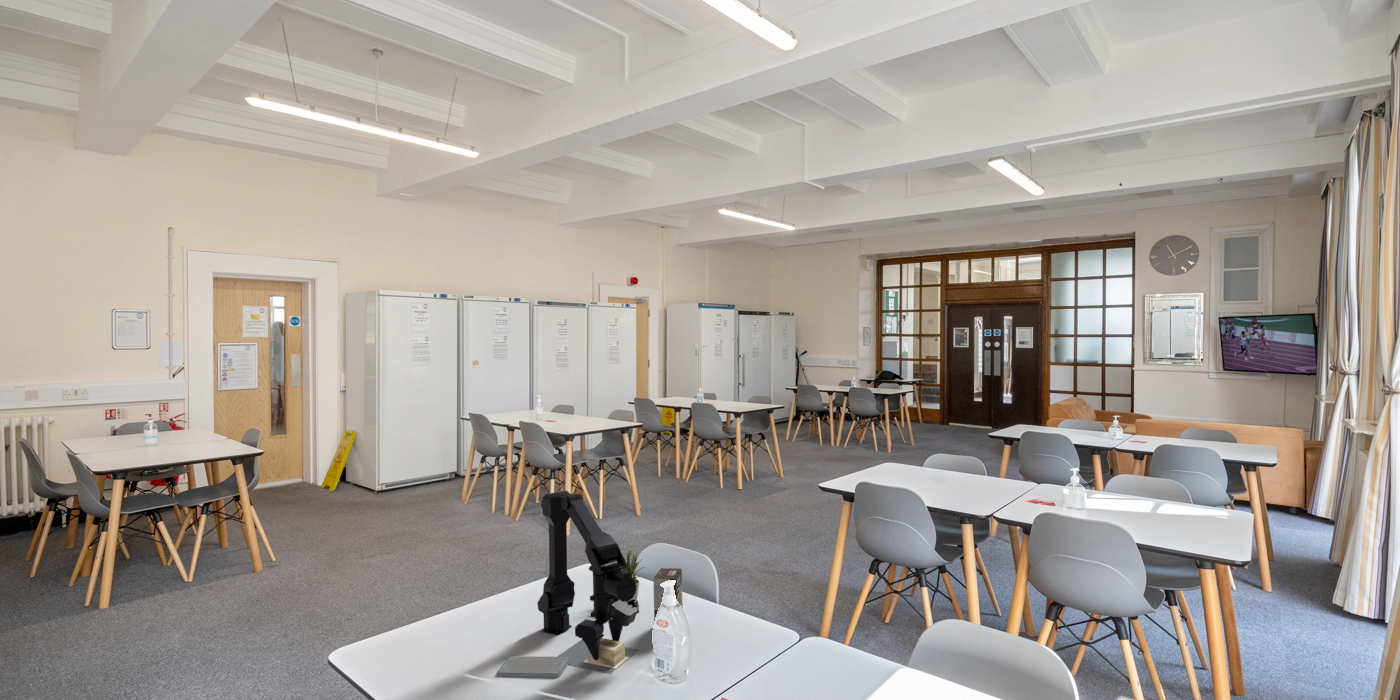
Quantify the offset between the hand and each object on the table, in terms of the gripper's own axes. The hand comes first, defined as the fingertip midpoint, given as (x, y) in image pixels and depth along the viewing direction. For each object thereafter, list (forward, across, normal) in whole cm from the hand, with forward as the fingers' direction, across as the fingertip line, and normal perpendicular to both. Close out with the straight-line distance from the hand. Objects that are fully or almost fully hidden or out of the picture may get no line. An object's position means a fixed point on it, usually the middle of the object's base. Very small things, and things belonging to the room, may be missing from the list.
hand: (606, 652), depth 172 cm
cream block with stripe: (+2, 0, 0) cm, 2 cm away
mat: (+2, +1, +4) cm, 5 cm away
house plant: (+3, +38, +17) cm, 42 cm away
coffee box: (+3, +23, -6) cm, 24 cm away
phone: (+2, -11, +14) cm, 18 cm away
